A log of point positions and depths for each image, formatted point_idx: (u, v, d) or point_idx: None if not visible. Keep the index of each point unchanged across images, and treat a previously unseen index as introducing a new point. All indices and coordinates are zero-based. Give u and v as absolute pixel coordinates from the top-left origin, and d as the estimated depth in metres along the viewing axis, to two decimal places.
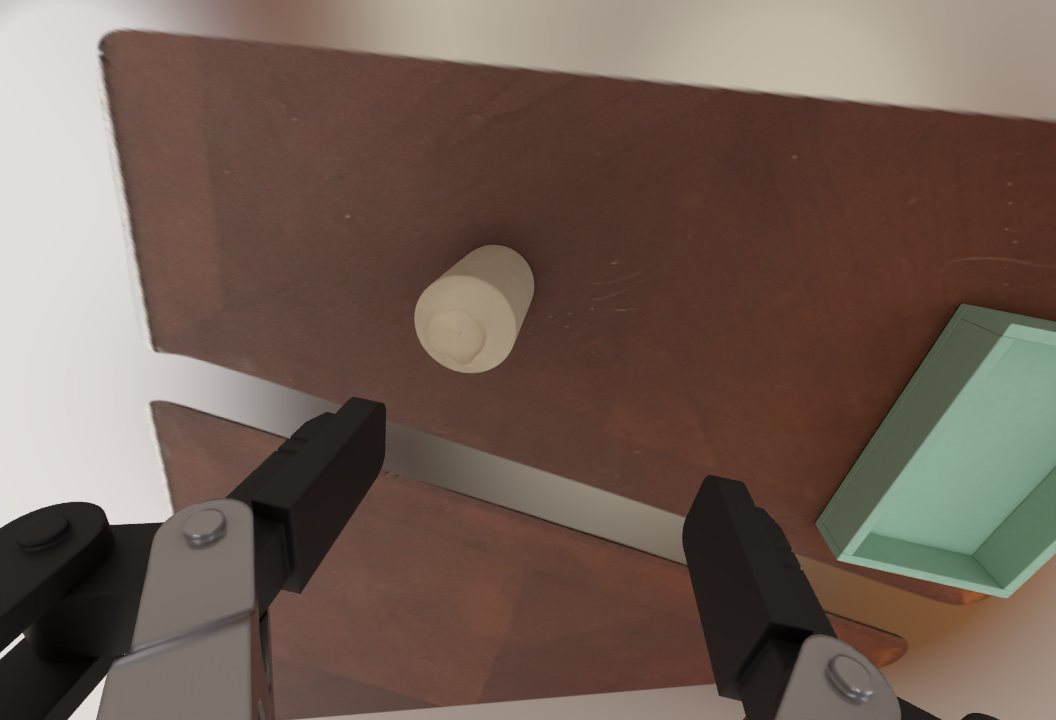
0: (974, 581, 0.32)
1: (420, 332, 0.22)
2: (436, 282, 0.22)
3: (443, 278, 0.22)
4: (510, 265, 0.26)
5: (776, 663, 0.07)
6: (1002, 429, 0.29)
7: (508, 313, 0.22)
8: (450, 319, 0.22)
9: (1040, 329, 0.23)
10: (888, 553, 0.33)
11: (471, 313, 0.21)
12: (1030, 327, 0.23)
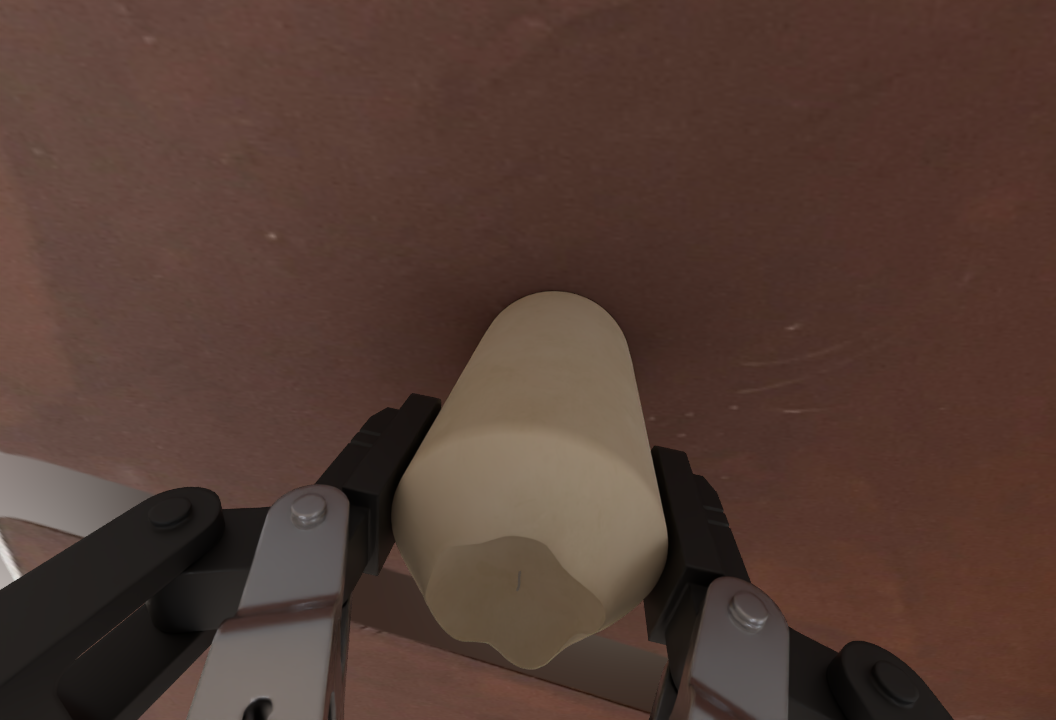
0: None
1: (406, 562, 0.08)
2: (450, 443, 0.08)
3: (471, 432, 0.08)
4: (609, 349, 0.12)
5: (690, 603, 0.07)
6: None
7: (656, 530, 0.08)
8: (490, 547, 0.08)
9: None
10: None
11: (560, 556, 0.07)
12: None
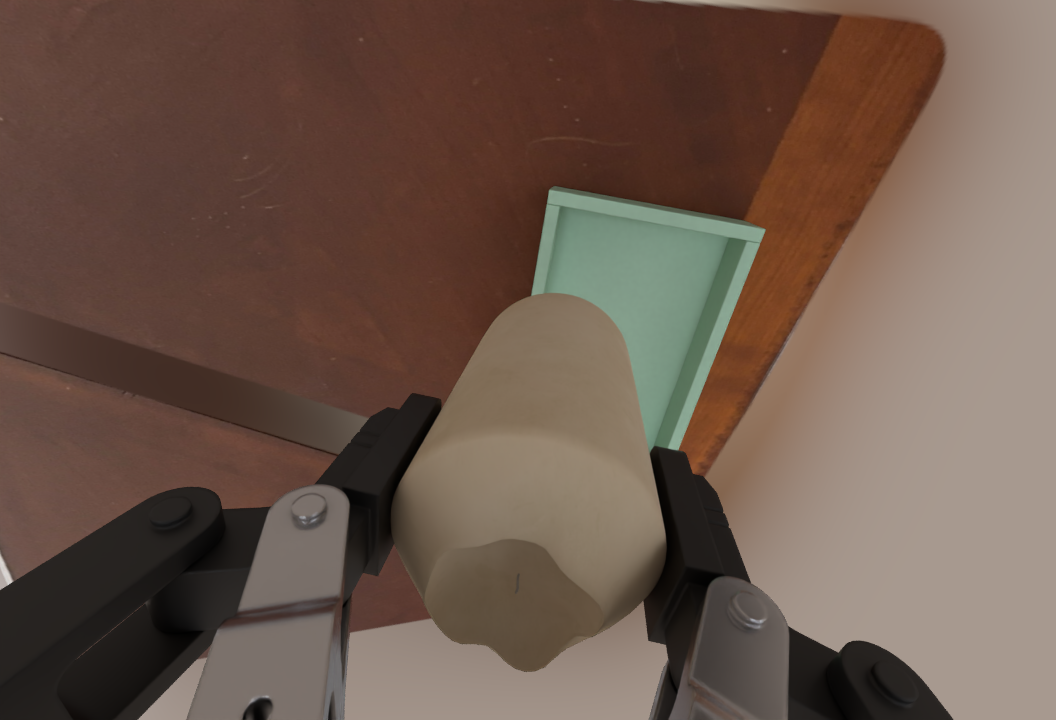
0: None
1: (405, 565, 0.08)
2: (449, 446, 0.08)
3: (469, 436, 0.08)
4: (608, 351, 0.12)
5: (690, 603, 0.07)
6: (628, 315, 0.31)
7: (655, 533, 0.08)
8: (489, 550, 0.08)
9: (576, 194, 0.25)
10: None
11: (558, 559, 0.07)
12: (567, 193, 0.25)
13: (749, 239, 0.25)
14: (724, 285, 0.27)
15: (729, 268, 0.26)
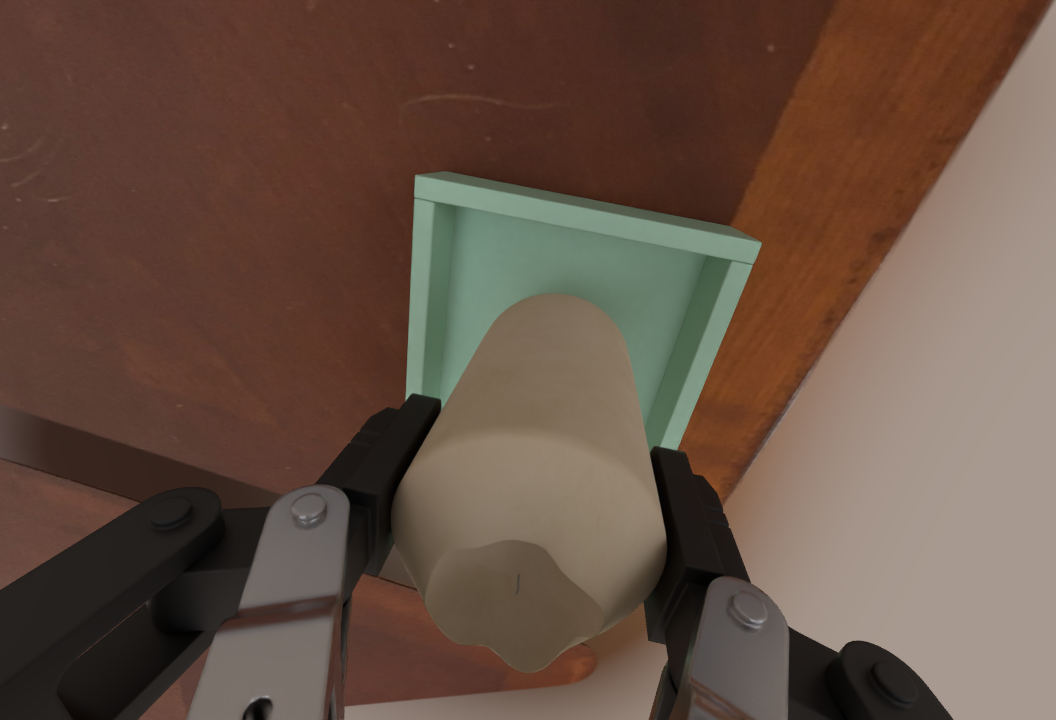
0: None
1: (406, 565, 0.08)
2: (450, 447, 0.08)
3: (470, 436, 0.08)
4: (608, 351, 0.12)
5: (690, 603, 0.07)
6: None
7: (655, 533, 0.08)
8: (489, 550, 0.08)
9: (457, 183, 0.15)
10: None
11: (559, 560, 0.07)
12: (443, 181, 0.15)
13: (736, 258, 0.15)
14: (698, 326, 0.17)
15: (706, 301, 0.17)
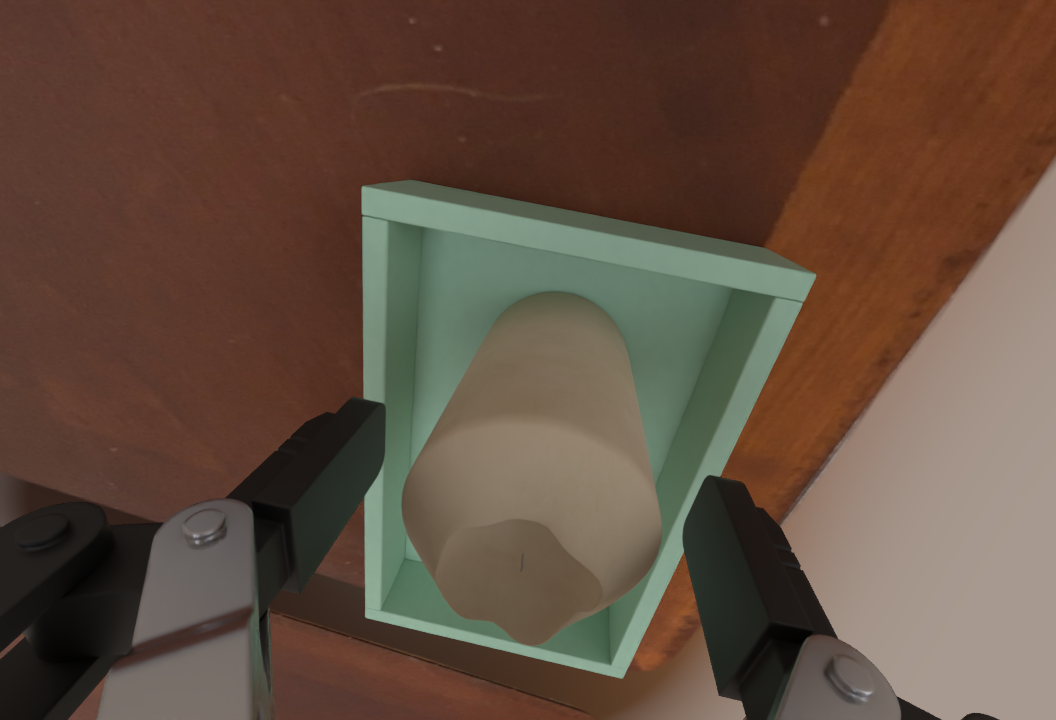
0: (569, 651, 0.20)
1: (416, 547, 0.09)
2: (458, 434, 0.08)
3: (477, 424, 0.08)
4: (607, 347, 0.12)
5: (776, 663, 0.07)
6: None
7: (650, 515, 0.08)
8: (495, 531, 0.08)
9: (417, 197, 0.12)
10: None
11: (561, 537, 0.07)
12: (398, 193, 0.12)
13: (781, 294, 0.12)
14: (727, 375, 0.14)
15: (737, 344, 0.13)
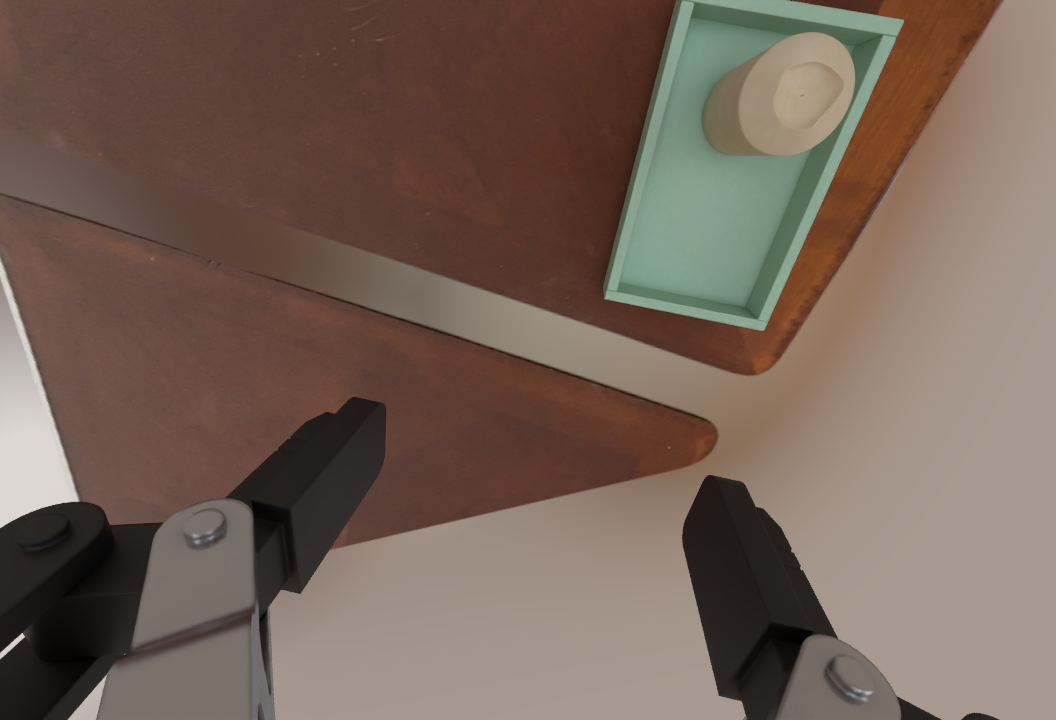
0: (731, 314, 0.33)
1: (751, 102, 0.22)
2: (780, 42, 0.21)
3: (788, 37, 0.21)
4: None
5: (776, 663, 0.07)
6: None
7: (853, 74, 0.21)
8: (793, 81, 0.21)
9: None
10: (656, 295, 0.34)
11: (829, 64, 0.20)
12: None
13: (886, 32, 0.25)
14: None
15: (856, 75, 0.26)
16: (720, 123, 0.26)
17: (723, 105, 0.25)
